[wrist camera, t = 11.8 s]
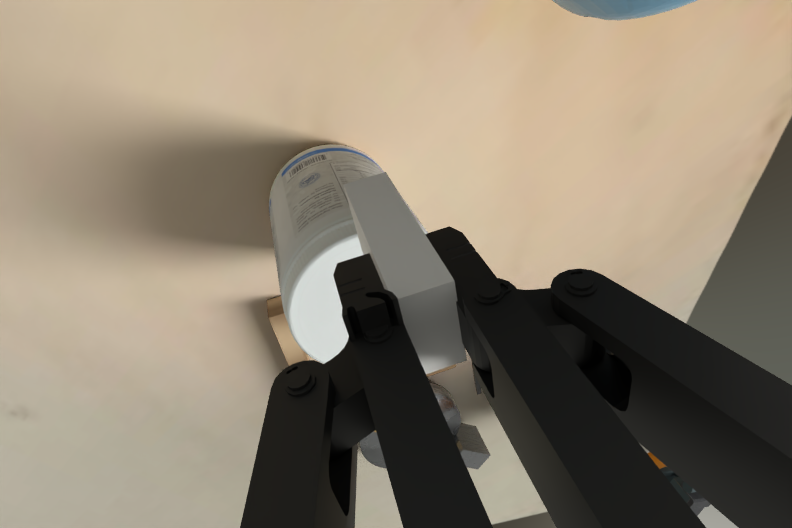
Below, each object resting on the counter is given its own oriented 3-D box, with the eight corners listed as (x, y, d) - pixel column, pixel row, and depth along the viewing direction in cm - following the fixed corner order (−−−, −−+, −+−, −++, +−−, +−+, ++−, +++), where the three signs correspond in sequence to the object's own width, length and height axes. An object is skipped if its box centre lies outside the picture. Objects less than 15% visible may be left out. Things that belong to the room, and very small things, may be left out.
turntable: (338, 445, 52) (345, 478, 49) (390, 371, 48) (402, 402, 45) (444, 463, 59) (456, 493, 56) (497, 400, 55) (513, 428, 52)
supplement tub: (361, 263, 42) (411, 385, 30) (251, 236, 38) (259, 365, 26) (407, 161, 38) (485, 255, 27) (291, 119, 34) (321, 208, 22)
